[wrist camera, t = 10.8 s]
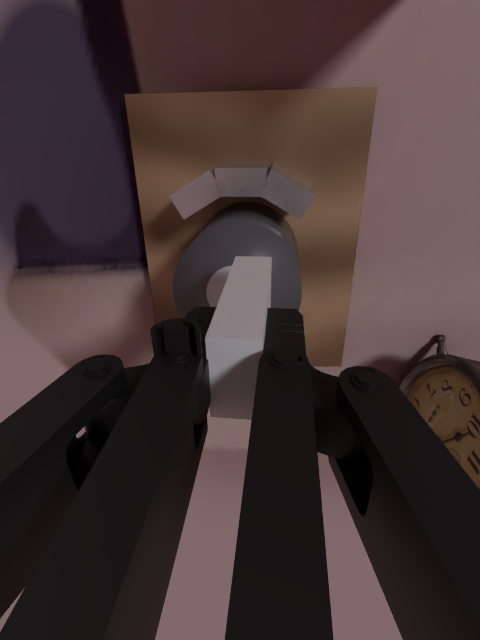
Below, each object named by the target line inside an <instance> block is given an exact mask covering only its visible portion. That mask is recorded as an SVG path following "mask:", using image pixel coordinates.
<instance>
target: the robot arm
mask: <svg viewBox="0 0 480 640" xmlns="http://www.w3.org/2000/svg"><path fill="white" fill-rule="evenodd" d="M271 271H272V257H252V256H236V257H235V259H234V262H233V265H232V267H231V270H230V273H229V275H228V278H227V281H226V283H225V286H224V289H223V291H222V294H221V297H220V299H219V302H218V305H217V307H202V306H196V307H195V308H193V309H192V310H191V311H189V312H188V313H187V314H186V316H185V318H174V319H168V320H164V321H161V322H159V323H157V324H155V325H154V326H153V327H152V328H151V329H150V330H151V337H152V344H153V350H154V357H153V358H152V360H151V362H150V364H146V365H142V366H135V367H129V368H124V366H123V362H122V361H121V359H120V358H118V357H116V356H113V355H96V356H92V357H89V358H87V359H84V360H82V361H81V362H79V363H77V364H76V365H74V366H73V367H72V368H71V369H69V370H68V371H67V372H65V373H64V374H63V375H62V376H60V377H59V378H58V379H57V380H55V381H54V382H53V383H51V384H50V385H49V386H48V387H46V388H45V389H44V390H42V391H41V392H40V393H39V394H37V395H36V396H35V397H33V398H32V399H31V400H30V401H28V402H27V403H26V404H24V405H23V406H22V407H21V408H19V409H18V410H17V411H16V412H15V413H13V414H12V415H11V416H9V417H8V418H7V419H5V420H4V421H3V422H1V423H0V618H1V616H3V614H4V613H5V612H6V610H7V609H8V608H9V607H10V605H11V604H12V603H13V602H14V600H15V599H16V598H17V597H18V595H19V594H20V593H21V591H22V590H23V589H24V588H25V589H24V590H23V592H22V594H21V596H20V598H19V599H18V601H17V603H16V605H15V607H14V608H13V611H12V612H11V614H10V616H9V617H8V619H7V621H6V623H5V625H4V626H3V628H2V630H1V632H0V640H155V637H156V633H157V629H158V625H159V621H160V617H161V613H162V609H163V605H164V601H165V597H166V593H167V589H168V585H169V581H170V577H171V573H172V569H173V565H174V561H175V557H176V553H177V549H178V545H179V541H180V538H181V533H182V530H183V526H184V522H185V518H186V514H187V510H188V506H189V502H190V498H191V494H192V490H193V486H194V482H195V478H196V474H197V470H198V466H199V462H200V458H201V454H202V450H203V446H204V442H205V438H206V434H207V430H208V426H207V413H208V410H209V406H210V414H211V417H220V418H235V419H250V420H252V421H251V430H250V438H249V446H248V454H247V462H246V470H245V479H244V487H243V496H242V503H241V512H240V520H239V528H238V536H237V544H236V552H235V560H234V569H233V577H232V586H231V594H230V601H229V609H228V617H227V626H226V634H225V640H333V630H332V618H331V606H330V595H329V583H328V571H327V560H326V548H325V536H324V525H323V514H322V501H321V490H320V478H319V468H318V455H317V452H319V453H322V454H325V455H328V458H329V463H330V465H331V468H332V470H333V472H334V475H335V477H336V479H337V482H338V485H339V487H340V489H341V492H342V494H343V497H344V499H345V501H346V504H347V506H348V509H349V511H350V513H351V516H352V518H353V521H354V523H355V525H356V528H357V530H358V533H359V535H360V538H361V540H362V542H363V545H364V547H365V550H366V552H367V554H368V557H369V559H370V561H371V564H372V566H373V569H374V571H375V574H376V576H377V578H378V581H379V583H380V586H381V588H382V590H383V593H384V595H385V598H386V600H387V602H388V605H389V607H390V610H391V612H392V614H393V617H394V619H395V622H396V624H397V626H398V629H399V631H400V634H401V636H402V638H403V640H480V489H479V488H478V487H477V485H476V484H475V483H474V482H473V480H472V479H471V478H470V477H469V475H468V474H467V473H466V472H465V470H464V469H463V468H462V467H461V465H460V464H459V463H458V461H457V460H456V459H455V458H454V456H453V455H452V454H451V453H450V451H449V450H448V449H447V448H446V446H445V445H444V444H443V443H442V441H441V440H440V439H439V437H438V436H437V435H436V434H435V432H434V431H433V430H432V429H431V427H430V426H429V425H428V424H427V422H426V421H425V420H424V419H423V417H422V416H421V415H420V414H419V412H418V411H417V410H416V408H415V407H414V406H413V405H412V403H411V402H410V401H409V400H408V398H407V397H406V396H405V395H404V393H403V392H402V391H401V390H400V388H399V387H398V386H397V384H396V383H395V382H394V381H393V380H392V379H391V378H390V377H389V376H388V375H387V374H386V373H383V372H381V371H379V370H377V369H374V368H370V367H365V366H355V367H350V368H346V369H345V370H344V371H342V372H341V373H340V375H339V377H336V376H332V375H329V374H326V373H323V372H321V371H319V370H317V369H315V368H314V367H313V366H311V365H310V363H309V360H308V358H307V357H306V346H305V333H304V321H303V315H302V314H301V313H300V312H299V311H298V310H297V309H288V308H271ZM83 427H85V430H86V432H85V433H84V434H83V435H82V436H81V437H79V438H78V439H77V438H76V434H77V433H78V432H79V431H80V430H81V429H82V428H83ZM25 586H26V587H25Z"/></svg>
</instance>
